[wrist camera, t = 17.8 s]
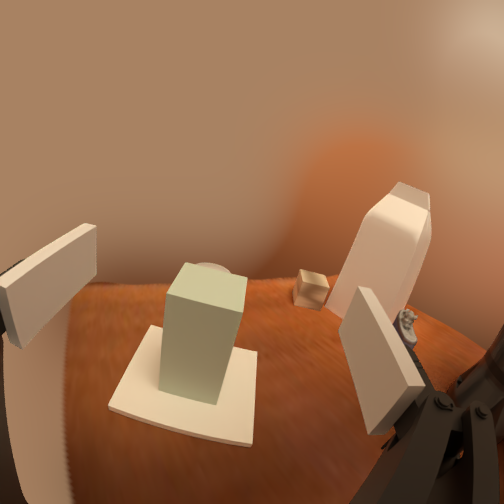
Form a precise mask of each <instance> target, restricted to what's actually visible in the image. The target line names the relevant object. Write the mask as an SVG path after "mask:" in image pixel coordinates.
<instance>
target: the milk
mask: <svg viewBox="0 0 504 504" xmlns="http://www.w3.org/2000/svg"><path fill="white" fill-rule="evenodd" d="M430 240H431V217H430V196H429V194H428V193H426V192H424V191H421V190H419V189H417V188H414V187H411V186H409V185H407V184H404V183H401V182H398V183H397V184H396V186H395V187H394V188H393V189H392V190H391V191H390V192H389V194H388V195H387V196H385V197H384V198H383V199H382V200H381V201H380V202H378V203H377V204H376V205H375V206H374V207H373V208H372V209H371V210H369V212H368V213H367V214H366V216H365V217H364V219H363V221H362V224H361V226H360V229H359V231H358V233H357V236H356V238H355V241H354V243H353V245H352V248H351V250H350V252H349V255H348V257H347V259H346V261H345V264H344V266H343V268H342V270H341V273H340V275H339V277H338V279H337V281H336V283H335V286H334V288H333V290H332V292H331V294H330V296H329V298H328V300H327V302H326V304H325V306H324V307H326V308H327V309H329V310H330V311H332V312H333V313H334V314H336V315H337V316H339V317H340V318H342V319H344V317H345V315H346V312H347V310H348V308H349V305H350V303H351V301H352V299H353V296H354V294H355V291H356V289H357V287H358V286H361V287H365V288H370V289H372V291H373V293H374V294H375V296H376V297H377V299H378V301H379V302H380V304H381V306H382V307H383V309H384V311H385V313H386V314H387V316H388V318H389V319H390V321H391V323H392V324H393V322H394V320H395V318H396V316H397V314H398V313H399V311H400V310H402V309H404V308H405V305H406V303H407V301H408V298H409V296H410V294H411V291H412V289H413V287H414V284H415V282H416V279H417V277H418V274H419V272H420V269H421V266H422V264H423V261H424V258H425V256H426V252H427V250H428V247H429V244H430Z"/></svg>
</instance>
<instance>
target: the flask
mask: <svg viewBox="0 0 504 504" xmlns="http://www.w3.org/2000/svg"><path fill="white" fill-rule="evenodd" d="M408 311H409V309H407V310H404V309H402V310H400V311H399V313H398V314H397V316H396V318H395V320H394V322H393V324H392V325H393V326H394V328H395V330H396V332H397V333H398V335H399V337H400V339H401V340H402V342H403V344H407V345H408V346H409V347H410V348H411V349H413V348H414V346H415V345H416V343H417V337H416V335H415V332H414V329H413V324H412V323H414V320H416V319H417V317H418V316H417V315H416V316H414V315H413V314H414V313H413V312H412V311H410V312H408Z"/></svg>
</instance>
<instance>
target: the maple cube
mask: <svg viewBox="0 0 504 504" xmlns="http://www.w3.org/2000/svg"><path fill="white" fill-rule="evenodd" d="M329 288H330V287H329V285H328V282H327V279H326V277H325V275H321V274H317V273H313V272H309V271H305V270H301V269H300V271H299V274H298V277H297V280H296V282H295V285H294V288H293V291H292V294H293V301H294V305H295V306H299V307H304V308H308V309H313V310H317V311H320V310H321V308H322V305H323V303H324V301H325V298H326V296H327V293H328V291H329Z"/></svg>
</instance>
